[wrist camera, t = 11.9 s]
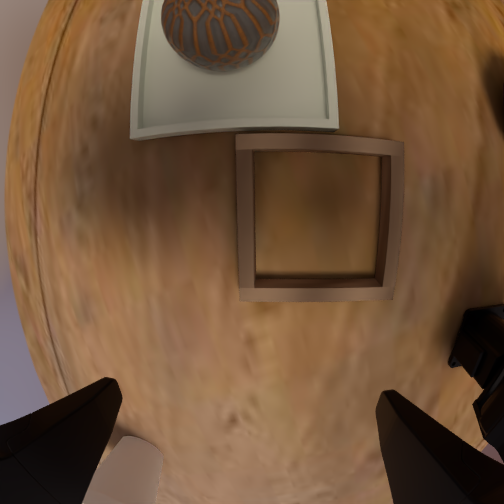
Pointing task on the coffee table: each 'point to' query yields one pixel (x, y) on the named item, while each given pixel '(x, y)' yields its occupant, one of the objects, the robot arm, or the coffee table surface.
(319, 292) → the holder
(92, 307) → the coffee table surface
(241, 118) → the tray
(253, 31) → the vase
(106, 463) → the foam cup
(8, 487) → the robot arm
